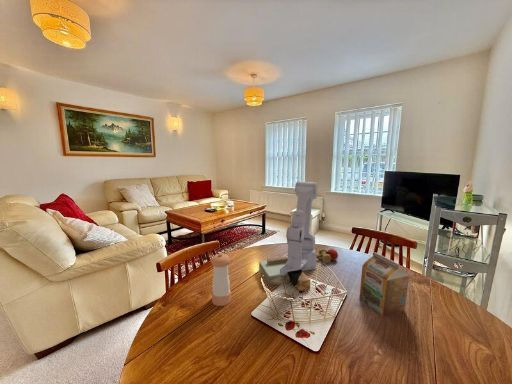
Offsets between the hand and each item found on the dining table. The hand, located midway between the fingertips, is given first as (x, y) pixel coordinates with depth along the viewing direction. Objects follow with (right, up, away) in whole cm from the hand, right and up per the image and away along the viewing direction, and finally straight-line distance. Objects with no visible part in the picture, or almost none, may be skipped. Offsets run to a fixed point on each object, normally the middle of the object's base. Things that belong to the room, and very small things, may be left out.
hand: (293, 285), depth 90 cm
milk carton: (+32, -4, -9) cm, 33 cm away
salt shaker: (-29, -3, -7) cm, 30 cm away
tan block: (+4, -1, +2) cm, 5 cm away
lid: (-5, +4, +10) cm, 12 cm away
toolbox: (-5, 0, +11) cm, 12 cm away
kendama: (+20, +2, +26) cm, 33 cm away
